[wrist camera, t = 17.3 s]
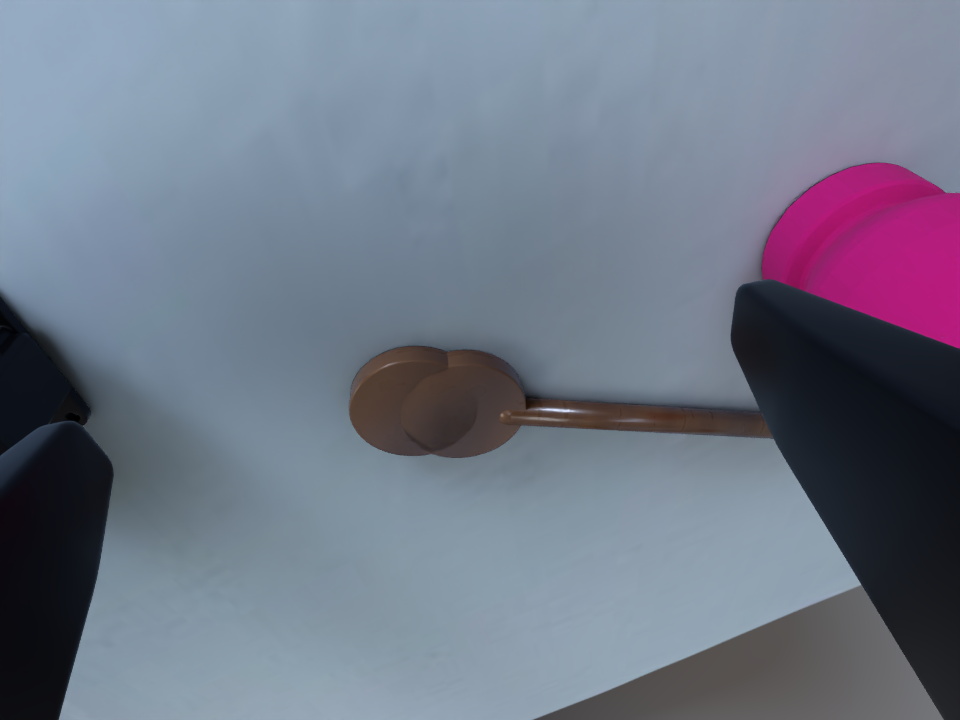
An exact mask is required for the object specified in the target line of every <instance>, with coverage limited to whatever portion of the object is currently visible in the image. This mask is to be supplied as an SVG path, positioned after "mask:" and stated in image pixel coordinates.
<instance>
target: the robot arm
mask: <svg viewBox="0 0 960 720" xmlns="http://www.w3.org/2000/svg"><path fill="white" fill-rule="evenodd" d="M731 344H732V348H733V351H734V353H735V356H736V358H737V360H738V362H739V364H740V367H741V369H742V371H743V373H744V375H745V378H746V380H747V382H748V384H749V386H750V389H751V391H752V393H753V395H754V397H755V400H756V402H757V404H758V406H759V408H760V411H761V413H762V415H763V417H764V419H765V422H766V424H767V426H768V428H769V430H770V432H771V434H772V436H773V438H774V440H775V442H776V444H777V446H778V448H779V450H780V451H781V453H782V455H783V456H784V458H785V460H786V462H787V463H788V465H789V466H790V468H791V470H792V471H793V473H794V475H795V476H796V478H797V480H798V481H799V483H800V484H801V486H802V488H803V489H804V491H805V493H806V494H807V496H808V498H809V499H810V501H811V503H812V504H813V506H814V507H815V509H816V511H817V512H818V514H819V516H820V517H821V519H822V521H823V522H824V524H825V525H826V527H827V529H828V530H829V532H830V534H831V535H832V537H833V539H834V540H835V542H836V544H837V545H838V547H839V548H840V550H841V552H842V553H843V555H844V557H845V558H846V560H847V562H848V563H849V565H850V566H851V568H852V570H853V571H854V573H855V575H856V576H857V578H858V580H859V581H860V583H861V585H862V586H863V588H864V589H865V591H866V593H867V594H868V596H869V598H870V599H871V601H872V603H873V604H874V606H875V607H876V609H877V611H878V612H879V614H880V616H881V617H882V619H883V621H884V622H885V624H886V626H887V627H888V629H889V630H890V632H891V633H892V635H893V637H894V638H895V640H896V642H897V644H898V645H899V647H900V649H901V650H902V652H903V653H904V655H905V657H906V658H907V660H908V662H909V663H910V665H911V666H912V668H913V670H914V671H915V673H916V675H917V676H918V678H919V680H920V681H921V683H922V685H923V686H924V688H925V689H926V691H927V693H928V694H929V696H930V698H931V699H932V701H933V703H934V704H935V706H936V708H937V709H938V711H939V712H940V714H941V716H942V717H943V719H944V720H960V349H959V348H956V347H954V346H951V345H948V344H946V343H943V342H940V341H938V340H935V339H932V338H929V337H927V336H924V335H921V334H919V333H916V332H913V331H911V330H908V329H905V328H903V327H900V326H897V325H894V324H892V323H889V322H886V321H884V320H881V319H878V318H876V317H873V316H870V315H868V314H865V313H862V312H859V311H857V310H854V309H851V308H849V307H846V306H843V305H841V304H838V303H835V302H833V301H830V300H827V299H824V298H822V297H819V296H816V295H814V294H811V293H808V292H806V291H803V290H800V289H797V288H795V287H792V286H789V285H787V284H784V283H781V282H779V281H776V280H773V279H766V280H761V281H756V282H752V283H747V284H743V285H742V286H740V287H739V288H738V290H737V292H736V296H735V304H734V312H733V319H732V327H731ZM73 413H75V414H73ZM76 414H77V415H76ZM90 415H91V410H90V408H89V407H88V406H87V404H86V403H85V402H84V401H83V399H82V398H81V397H80V396H79V394H78V393H77V392H76V391H75V390H74V388H73V387H72V386H71V385H70V383H69V382H68V381H67V380H66V378H65V377H64V376H63V375H62V373H61V372H60V371H59V370H58V368H57V367H56V366H55V365H54V363H53V362H52V361H51V360H50V358H49V357H48V356H47V355H46V353H45V352H44V351H43V350H42V348H41V347H40V346H39V345H38V344H37V342H36V341H35V340H34V339H33V337H32V336H31V335H30V334H29V332H28V331H27V330H26V329H25V327H24V326H23V325H22V324H21V322H20V321H19V320H18V319H17V317H16V316H15V315H14V314H13V312H12V311H11V310H10V309H9V307H8V306H7V305H6V304H5V302H4V301H3V300H2V299H1V298H0V720H59V716H60V713H61V709H62V705H63V702H64V698H65V694H66V691H67V687H68V683H69V680H70V676H71V672H72V669H73V665H74V662H75V658H76V654H77V651H78V647H79V643H80V640H81V636H82V632H83V629H84V625H85V621H86V618H87V614H88V610H89V607H90V603H91V600H92V596H93V592H94V588H95V584H96V580H97V575H98V570H99V564H100V559H101V552H102V546H103V540H104V534H105V527H106V521H107V515H108V508H109V502H110V496H111V490H112V483H113V476H114V474H113V467H112V463H111V461H110V459H109V458H108V456H107V455H106V454H105V453H104V451H103V450H102V449H101V448H100V447H99V446H98V444H97V443H96V442H95V441H94V440H93V438H92V437H91V436H90V435H89V434H88V432H87V431H86V430H85V429H84V428H83V427H82V425H84V424H85V423H86V422H87V421H88V419H89V417H90Z"/></svg>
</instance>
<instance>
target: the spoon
mask: <svg viewBox="0 0 960 720" xmlns="http://www.w3.org/2000/svg"><path fill="white" fill-rule="evenodd" d="M349 415H350V419H351V422H352V425H353V426H354V428H355V430H356V431H357V433H358V434H359V435H360V436H361V437H362V438H363V439H364V440H365V441H366V442H368V443H369V444H370V445H372V446H374V447H376V448H378V449H380V450H382V451H385V452H388V453H392V454H397V455H404V456H420V455H428V454H434V455H437V456H442V457H450V458H463V457H471V456H477V455H480V454H484V453H487V452H489V451H492V450H494V449H496V448H498V447H499V446H501V445H503V444H504V443H505V442H507V441H508V440H509V439H510V438H511V437H512V436H513V435H514V434H515V433H516V432H517V431H518V429H519V428H520V426H521V425H524V426H543V427H562V428H580V429H599V430H618V431H637V432H656V433H675V434H694V435H713V436H732V437H751V438H770V439H774V438H773V436H772V434H771V432H770V430H769V428H768V426H767V424H766V422H765V419H764V417H763V415H762V413H760V412H744V411H728V410H712V409H696V408H680V407H664V406H648V405H632V404H616V403H600V402H584V401H568V400H552V399H536V398H525V394H524V390H523V386H522V383H521V380H520V378H519V376H518V374H517V373H516V371H515V370H514V369H513V368H512V367H511V366H510V365H509V364H508V363H507V362H505V361H504V360H502V359H501V358H499V357H497V356H495V355H492V354H489V353H486V352H482V351H476V350H455V351H449V352H445V351H443V350H440V349H436V348H432V347H425V346H408V347H401V348H396V349H393V350H389V351H387V352H384V353H382V354H380V355H378V356H376V357H374V358H373V359H371V360H370V361H369V362H367V363H366V364H365V365H364V366H363V367H362V368H361V369H360V371H359V372H358V373H357V375H356V377H355V378H354V380H353V383H352V386H351V391H350V400H349Z"/></svg>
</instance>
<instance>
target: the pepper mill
mask: <svg viewBox="0 0 960 720" xmlns="http://www.w3.org/2000/svg"><path fill="white" fill-rule="evenodd" d="M762 274H763V280H766V279H773V280H776V281H779V282H781V283H784V284H787V285H789V286H792V287H795V288H797V289H800V290H803V291H806V292H808V293H811V294H814V295H816V296H819V297H822V298H824V299H827V300H830V301H833V302H835V303H838V304H841V305H843V306H846V307H849V308H851V309H854V310H857V311H859V312H862V313H865V314H868V315H870V316H873V317H876V318H878V319H881V320H884V321H886V322H889V323H892V324H894V325H897V326H900V327H903V328H905V329H908V330H911V331H913V332H916V333H919V334H921V335H924V336H927V337H929V338H932V339H935V340H938V341H940V342H943V343H946V344H948V345H951V346H954V347H956V348H959V349H960V193H945V192H944V191H943V190H942V189H940V188H939V187H937V186H936V185H934V184H932V183H930V182H929V181H927V180H925V179H923V178H922V177H920V176H918V175H916V174H914V173H913V172H911V171H909V170H907V169H906V168H903V167H901V166H898V165H894V164H888V163H871V164H864V165H860V166H855V167H850V168H848V169H846V170H843V171H841V172H838V173H836V174H834V175H831V176H829V177H828V178H826V179H824V180H823V181H821V182H820V183H818V184H816V185H815V186H813V187H811V188H810V189H809V190H808V191H807V192H805V193H804V194H803V195H802V196H801V197H800V198H799V199H798V200H797V201H795V202H794V203H793V204H792V205H791V206H790V207H789V208H788V209H787V210H786V212H785V213H784V215H783V216H782V217H781V219H780V220H779V222H778V223H777V224H776V226H775V227H774V229H773V230H772V232H771V234H770V236H769V239H768V241H767V244H766V247H765V250H764V254H763V261H762Z"/></svg>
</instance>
